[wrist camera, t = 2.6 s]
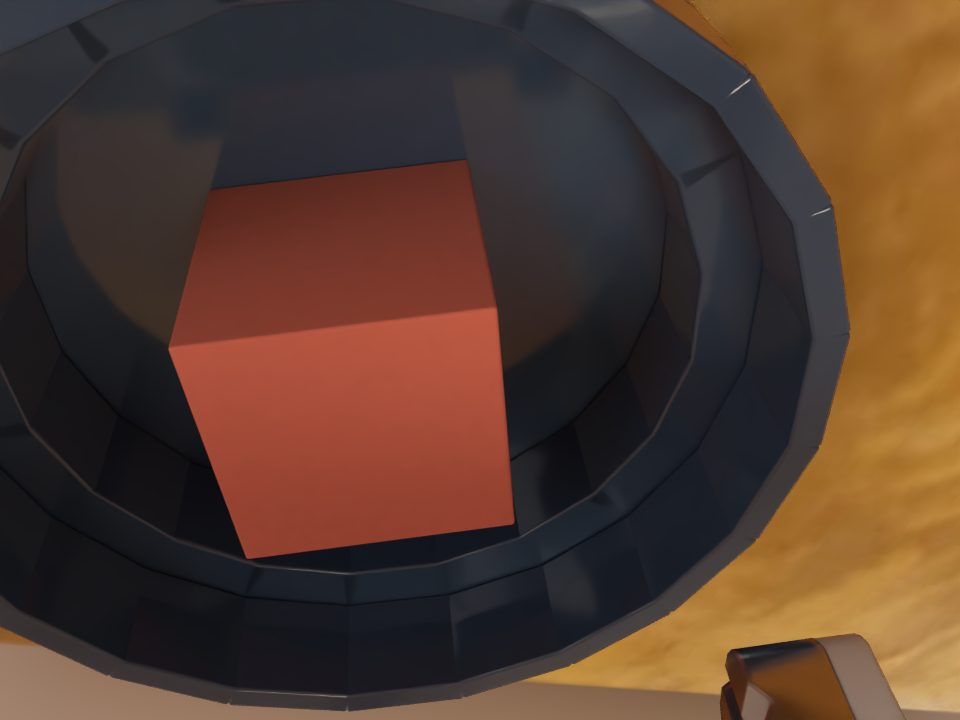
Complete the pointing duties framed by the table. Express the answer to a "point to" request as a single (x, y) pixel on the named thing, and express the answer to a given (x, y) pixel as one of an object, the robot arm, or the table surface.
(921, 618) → the table surface
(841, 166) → the table surface
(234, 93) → the toy bowl
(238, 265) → the toy block
